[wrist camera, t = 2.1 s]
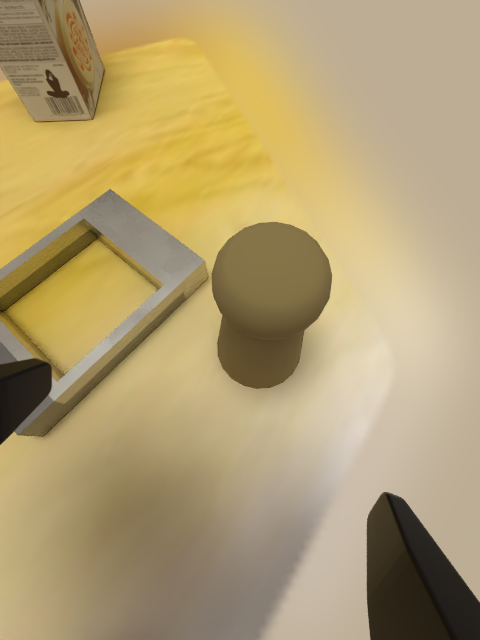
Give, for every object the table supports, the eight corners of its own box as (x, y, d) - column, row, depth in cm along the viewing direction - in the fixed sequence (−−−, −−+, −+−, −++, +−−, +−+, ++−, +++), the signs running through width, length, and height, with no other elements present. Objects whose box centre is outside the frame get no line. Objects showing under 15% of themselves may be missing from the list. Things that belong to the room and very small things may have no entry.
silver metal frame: (42, 436, 19) (17, 435, 17) (-43, 335, 22) (-74, 323, 20) (208, 277, 24) (205, 260, 22) (120, 210, 27) (110, 188, 25)
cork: (286, 301, 23) (322, 187, 13) (312, 377, 21) (378, 310, 11) (209, 318, 23) (185, 213, 13) (227, 397, 20) (213, 347, 10)
